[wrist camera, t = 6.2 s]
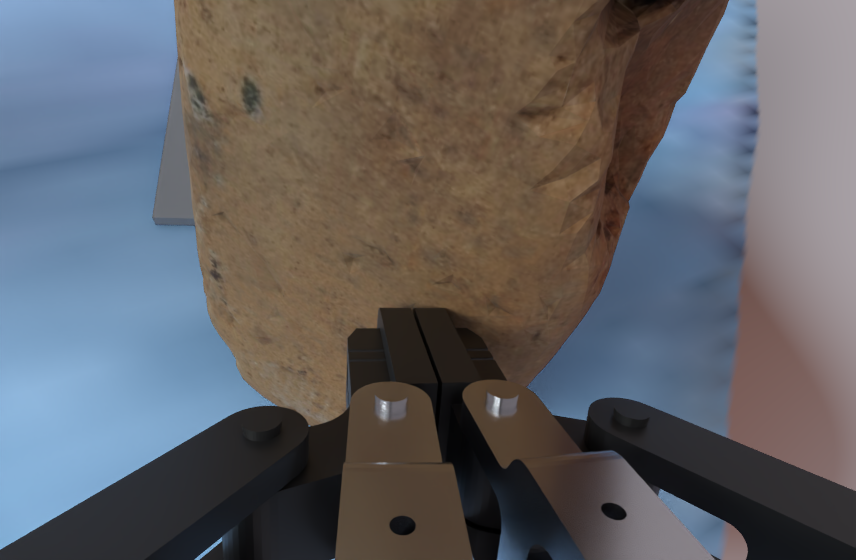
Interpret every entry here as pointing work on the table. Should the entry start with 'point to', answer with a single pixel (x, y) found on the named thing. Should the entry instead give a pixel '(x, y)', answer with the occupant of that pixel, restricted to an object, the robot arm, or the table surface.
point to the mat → (174, 169)
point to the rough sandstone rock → (417, 167)
